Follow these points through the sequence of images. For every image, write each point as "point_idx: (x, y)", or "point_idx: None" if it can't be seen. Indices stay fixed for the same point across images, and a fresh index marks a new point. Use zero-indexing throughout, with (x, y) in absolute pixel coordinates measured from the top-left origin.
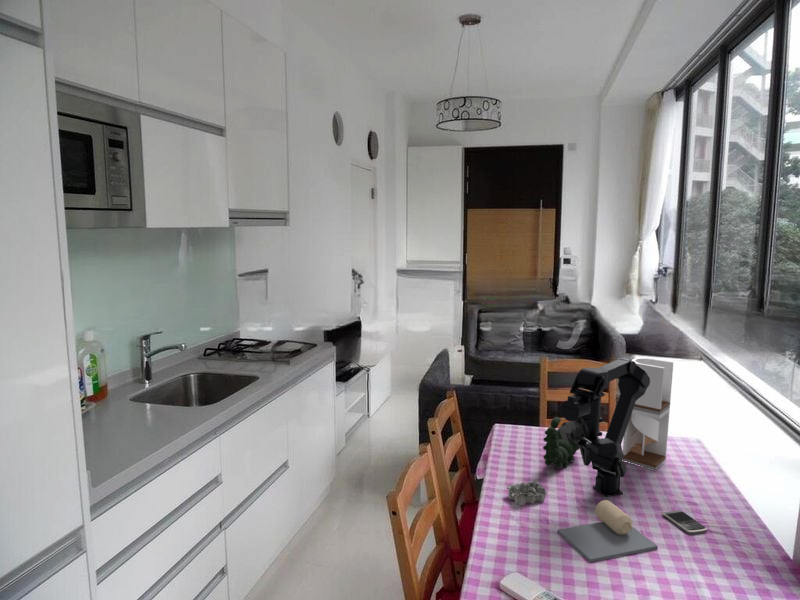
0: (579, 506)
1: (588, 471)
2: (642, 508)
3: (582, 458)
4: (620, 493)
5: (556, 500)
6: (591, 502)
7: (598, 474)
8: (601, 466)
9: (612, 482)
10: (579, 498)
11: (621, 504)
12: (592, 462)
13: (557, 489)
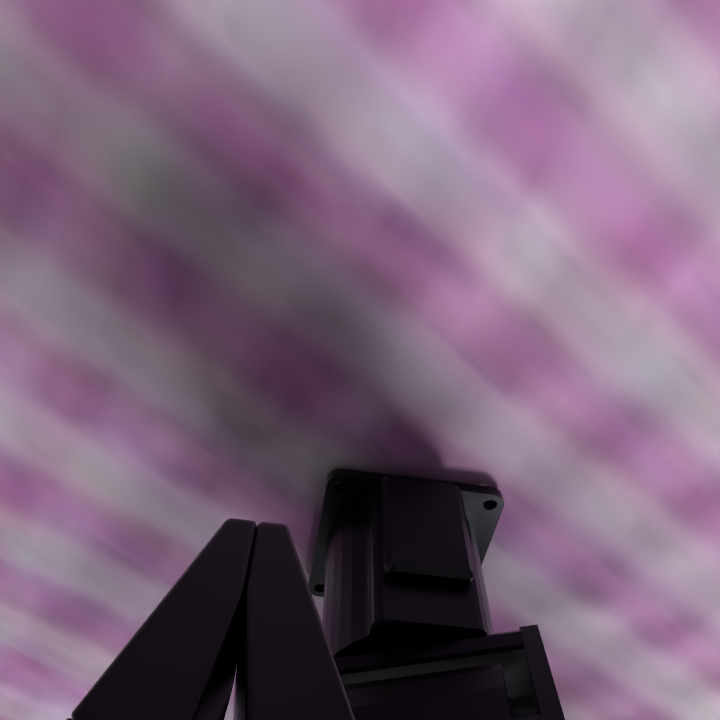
0: (295, 153)
1: (697, 616)
2: (90, 549)
3: (311, 619)
4: (310, 571)
5: (520, 8)
6: (310, 311)
7: (455, 601)
8: (385, 694)
9: (328, 605)
10: (421, 270)
11: (188, 480)
12: (541, 688)
13: (680, 209)
